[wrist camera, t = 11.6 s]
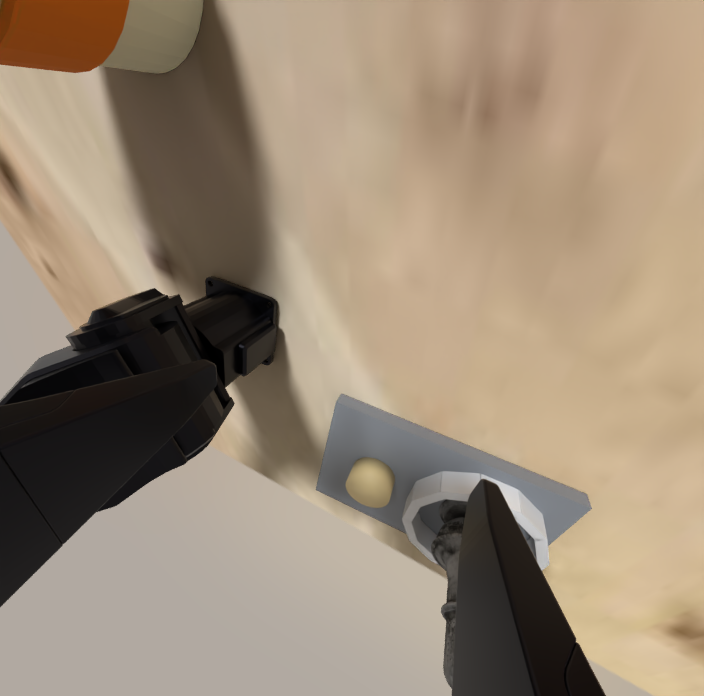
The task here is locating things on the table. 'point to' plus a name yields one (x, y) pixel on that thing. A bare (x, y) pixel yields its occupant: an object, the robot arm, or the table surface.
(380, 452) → the socket board
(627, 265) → the table surface
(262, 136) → the table surface
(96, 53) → the reusable coffee cup
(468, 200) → the table surface
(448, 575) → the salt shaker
